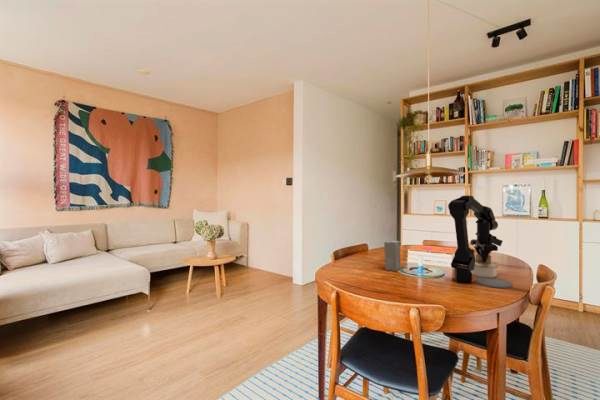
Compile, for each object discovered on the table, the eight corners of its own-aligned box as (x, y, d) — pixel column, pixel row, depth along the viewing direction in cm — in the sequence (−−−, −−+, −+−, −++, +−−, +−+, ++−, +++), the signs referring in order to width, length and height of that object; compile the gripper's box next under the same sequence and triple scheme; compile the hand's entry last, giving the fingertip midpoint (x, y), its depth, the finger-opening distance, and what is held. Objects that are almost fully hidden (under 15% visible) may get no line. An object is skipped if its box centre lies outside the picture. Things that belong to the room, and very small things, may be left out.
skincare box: (396, 271, 164) (396, 242, 163) (383, 269, 168) (383, 241, 168) (401, 268, 170) (401, 240, 170) (389, 266, 175) (389, 239, 174)
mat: (482, 287, 135) (482, 285, 135) (469, 278, 150) (469, 276, 150) (519, 289, 132) (519, 287, 132) (502, 279, 147) (502, 277, 147)
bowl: (475, 276, 152) (475, 267, 152) (467, 271, 163) (467, 262, 163) (499, 277, 150) (499, 267, 150) (489, 271, 161) (490, 262, 161)
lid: (474, 267, 151) (474, 257, 151) (465, 261, 164) (465, 252, 164) (503, 268, 149) (503, 258, 149) (491, 262, 162) (491, 253, 161)
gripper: (509, 234, 145) (509, 266, 146) (492, 229, 164) (491, 257, 164) (484, 233, 147) (484, 265, 148) (470, 229, 166) (469, 257, 166)
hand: (483, 261), depth 156 cm, fingers closed on lid, 3 cm apart
